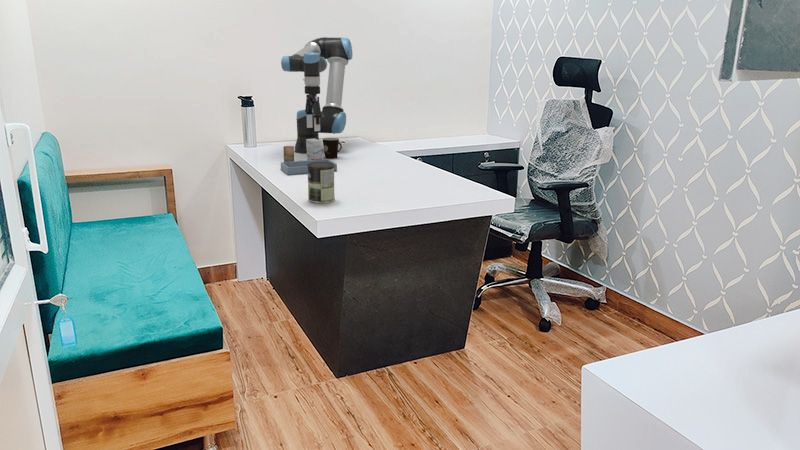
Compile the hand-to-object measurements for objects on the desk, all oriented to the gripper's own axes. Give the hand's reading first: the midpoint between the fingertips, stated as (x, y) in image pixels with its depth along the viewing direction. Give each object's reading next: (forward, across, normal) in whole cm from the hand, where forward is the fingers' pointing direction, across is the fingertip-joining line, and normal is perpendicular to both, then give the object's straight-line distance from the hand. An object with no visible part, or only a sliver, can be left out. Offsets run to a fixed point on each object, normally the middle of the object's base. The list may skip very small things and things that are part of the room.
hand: (313, 129), depth 296 cm
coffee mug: (+17, -9, +12) cm, 23 cm away
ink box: (+17, 0, 0) cm, 17 cm away
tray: (+17, +17, -8) cm, 25 cm away
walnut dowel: (+17, 0, -13) cm, 21 cm away
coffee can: (+18, +72, -18) cm, 76 cm away
